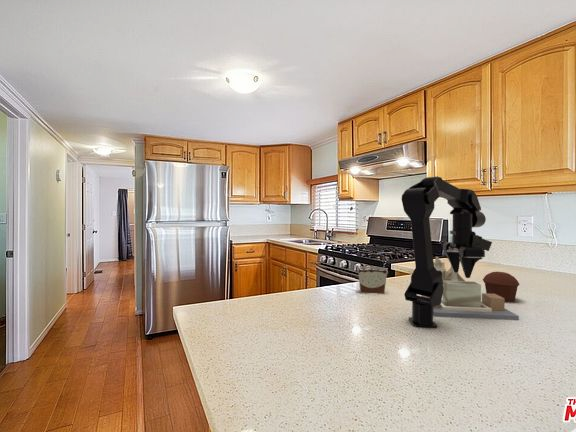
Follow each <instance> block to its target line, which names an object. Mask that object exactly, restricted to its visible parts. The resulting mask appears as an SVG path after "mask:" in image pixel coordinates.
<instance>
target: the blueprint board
mask: <svg viewBox="0 0 576 432" xmlns="http://www.w3.org/2000/svg"><path fill="white" fill-rule="evenodd" d="M421 296H422V295H421ZM422 297H426V298H430V297H427V296H422ZM505 303H506V302H505V298H502V297H500V296H498V295H496V294H488V293H486V292H481V308H477V307H453V306H445V305H443V298H442V300H441V304H440V305H437V306H434V307H433V317H442V318H443V317H448V318H449V317H450V318H466V319H467V318H469V319H488V320H492V319H493V320H509V321H510V320H515V321H519V320H520V315H518V314H516V313H515V312H512V311H511V310H509V309H507V308H505Z"/></svg>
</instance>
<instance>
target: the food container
mask: <svg viewBox="0 0 576 432" xmlns="http://www.w3.org/2000/svg"><path fill="white" fill-rule="evenodd" d="M356 274H358V281H359V291H360V294H368V293H377V294H376V295H385V293H386V292H385V291H386V284H387V275H389V270H388V268H386V267H381V266H373V265H372V266H371V265H370V266H369V265H368V266H366V265H365V266H359V267H357V271H356Z"/></svg>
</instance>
